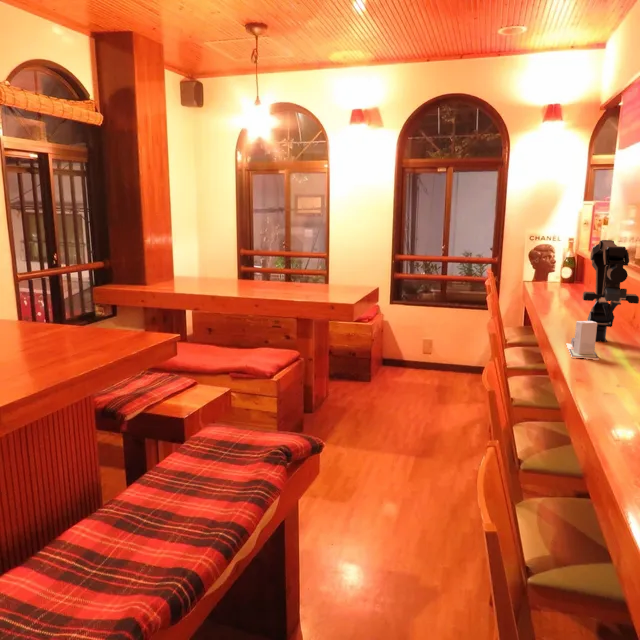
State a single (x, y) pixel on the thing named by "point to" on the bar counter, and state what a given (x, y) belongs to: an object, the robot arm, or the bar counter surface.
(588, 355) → the picture board
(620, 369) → the bar counter surface
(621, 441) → the bar counter surface
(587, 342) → the skincare box
